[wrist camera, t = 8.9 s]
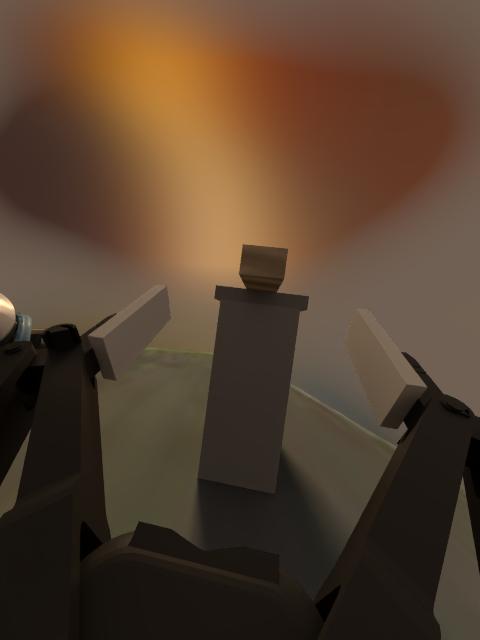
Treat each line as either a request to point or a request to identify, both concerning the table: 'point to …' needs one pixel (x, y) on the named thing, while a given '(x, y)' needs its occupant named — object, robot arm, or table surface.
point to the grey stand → (249, 387)
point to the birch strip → (263, 267)
